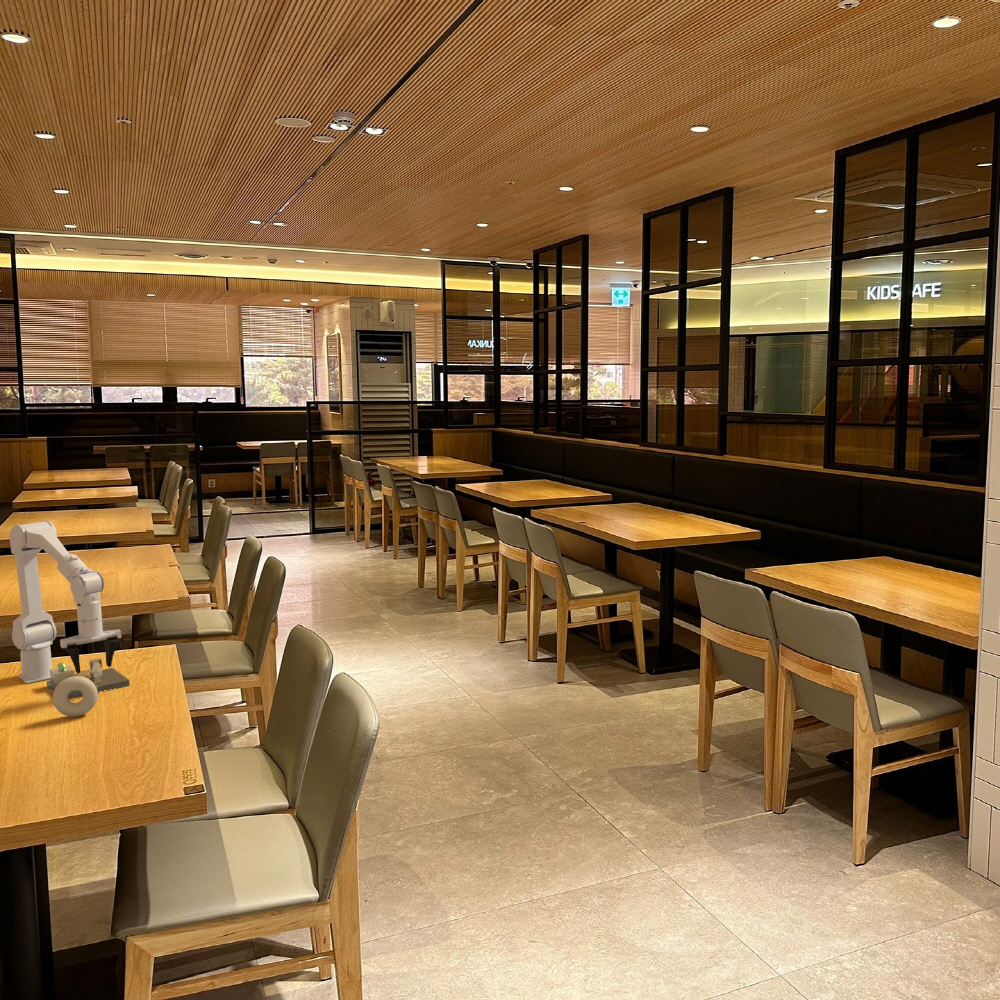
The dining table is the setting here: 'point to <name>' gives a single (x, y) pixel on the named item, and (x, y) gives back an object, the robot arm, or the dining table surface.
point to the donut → (80, 707)
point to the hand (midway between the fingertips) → (93, 669)
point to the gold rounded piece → (93, 671)
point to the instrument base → (108, 682)
